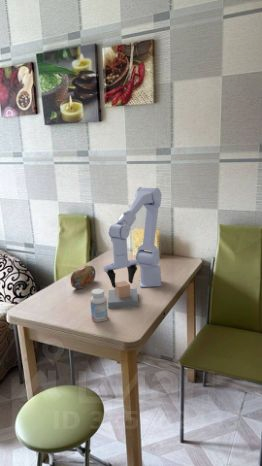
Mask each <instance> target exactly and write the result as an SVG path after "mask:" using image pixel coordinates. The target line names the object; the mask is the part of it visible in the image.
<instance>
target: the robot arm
mask: <svg viewBox="0 0 262 466" xmlns="http://www.w3.org/2000/svg"><path fill="white" fill-rule="evenodd" d="M134 197H135V198H134V200H133V201H132V203H131V204H130V206H129V209H126V210H124V211H123V212H122V213H121V216H120V217H119V218H118V219H117V221H116V222H115V223H113V224H111V225H110V226H109V229H108V236H109V237H110V241H111V243H112V254H113V255H112V256H113V263H110V264H107V265H104V266H102V267H103V272H104V273H106V274H107V277H108V279H109V280H110V283H111V287H112V288H113V289H114V288H115V286H116V285H115V283H116V273H115V270H119V269H124V268H126V269H127V273H128V274H127V275H128V276H127V277H128V283H129V284H133V282H134V278H135V274H136V272H137V271H138V266H139V274H140V275H139V276H140V277H139V278H140V279H139V280H138V281H139V286H140V288H149V287H150V288H151V287H152V288H153V287H154V288H155V287H162V271H161V264H159V263H160V260H161V257H160V249H159V248H158V247H157V246H156V245H155V241H156V235H157V223H158V216H159V208H160V207H161V203H162V197H163V196H162V192H161V189H160V188H159V187H142V186H140V187H138V188H137V190H136V191H135V193H134ZM143 207H145V210H146V211H145V212H146V213H145V222H144V228H143V229H144V230H143V231H144V232H143V239H142V240H143V241H142V244H141V245H140V246H138V247H137V252H136V253H135V257H134V259H130V260H129V257H128V241H127V239H128V238H129V236H130V231H131V227H132V226H133V224H134V222H136V220H137V217H136V215H137V214H138V212H139V211H140V210H141V209H142V208H143Z"/></svg>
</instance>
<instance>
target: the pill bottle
mask: <svg viewBox="0 0 262 466" xmlns="http://www.w3.org/2000/svg"><path fill="white" fill-rule="evenodd" d="M89 301H90V314H91V320H92V321H93V322H96V323H99V322H104V321H107V320H108V317H109V316H108V315H109V314H108V311H109V310H108V297H107V296H106V295H105V290H104V289H102V288H95V289H92V290H91V297H90V300H89Z"/></svg>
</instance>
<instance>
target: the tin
mask: <svg viewBox="0 0 262 466" xmlns="http://www.w3.org/2000/svg"><path fill="white" fill-rule="evenodd" d="M95 278H96V269H95V267H94V266H93V265H85V266H83V267H81V268H79V269H76V270H74V271H73V272H72V274H71V276H70V285H71V287H72V288H74V289H77V290H82V289H83V288H85V287H86V286H88V285H90V284H92V283H93V282H94V280H95Z"/></svg>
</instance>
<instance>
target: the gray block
mask: <svg viewBox="0 0 262 466" xmlns="http://www.w3.org/2000/svg"><path fill="white" fill-rule="evenodd" d="M130 295H131V296H129V297H124V298H120V299H119V298H118V297H117V296H116V295H115V289H109V290H108V295H107V309H117V308H118V309H119V308H121V309H122V308H134V307H135V308H136V307H139V299H138V289H137V288H130Z"/></svg>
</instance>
